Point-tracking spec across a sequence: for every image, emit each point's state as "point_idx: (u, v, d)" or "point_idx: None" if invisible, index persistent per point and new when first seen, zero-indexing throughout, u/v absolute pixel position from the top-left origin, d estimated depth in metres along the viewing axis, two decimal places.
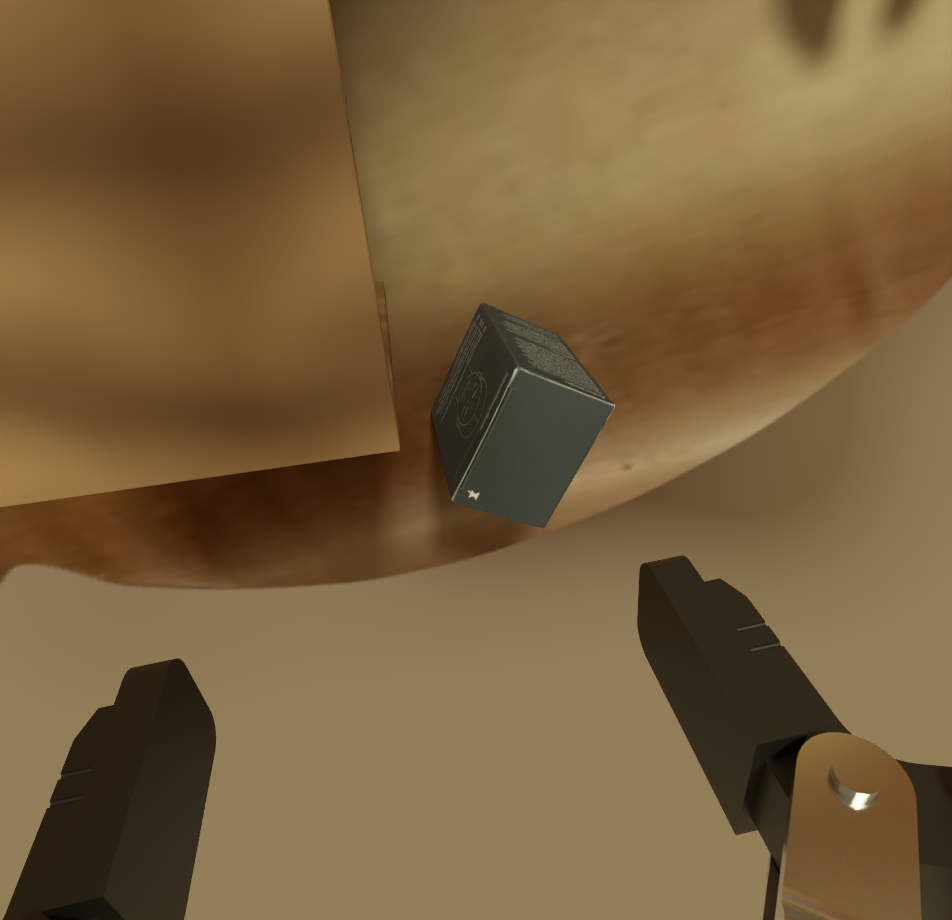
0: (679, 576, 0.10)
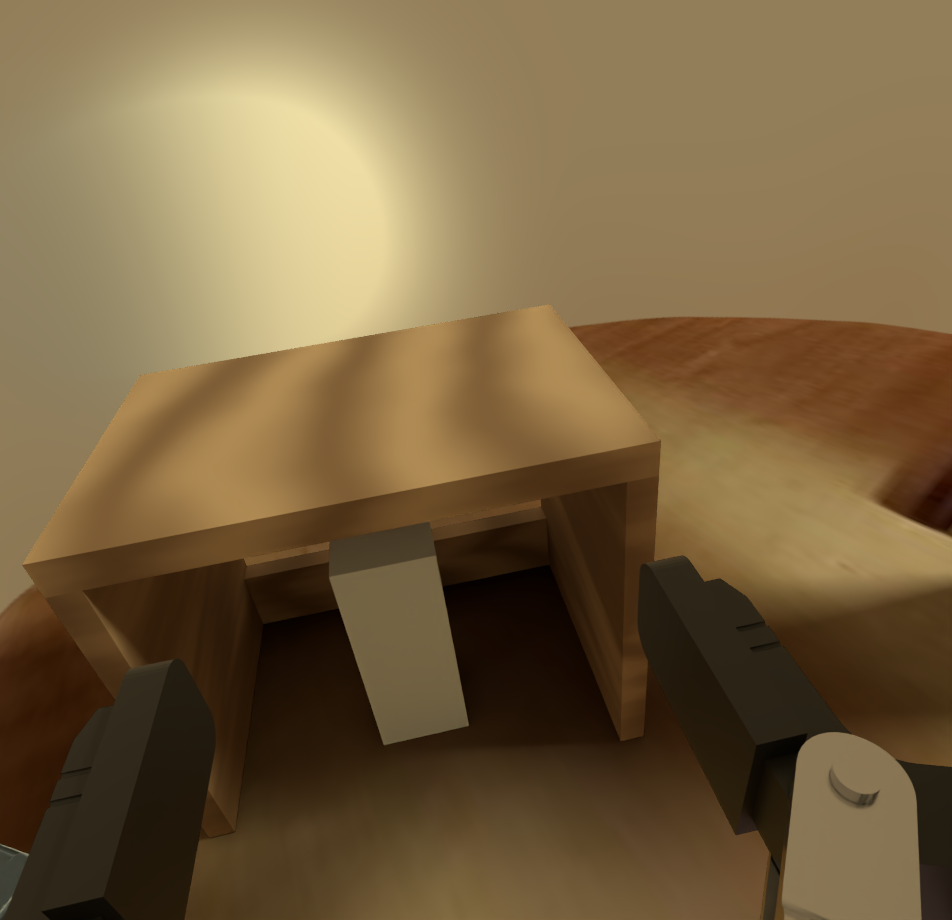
0: (679, 576, 0.10)
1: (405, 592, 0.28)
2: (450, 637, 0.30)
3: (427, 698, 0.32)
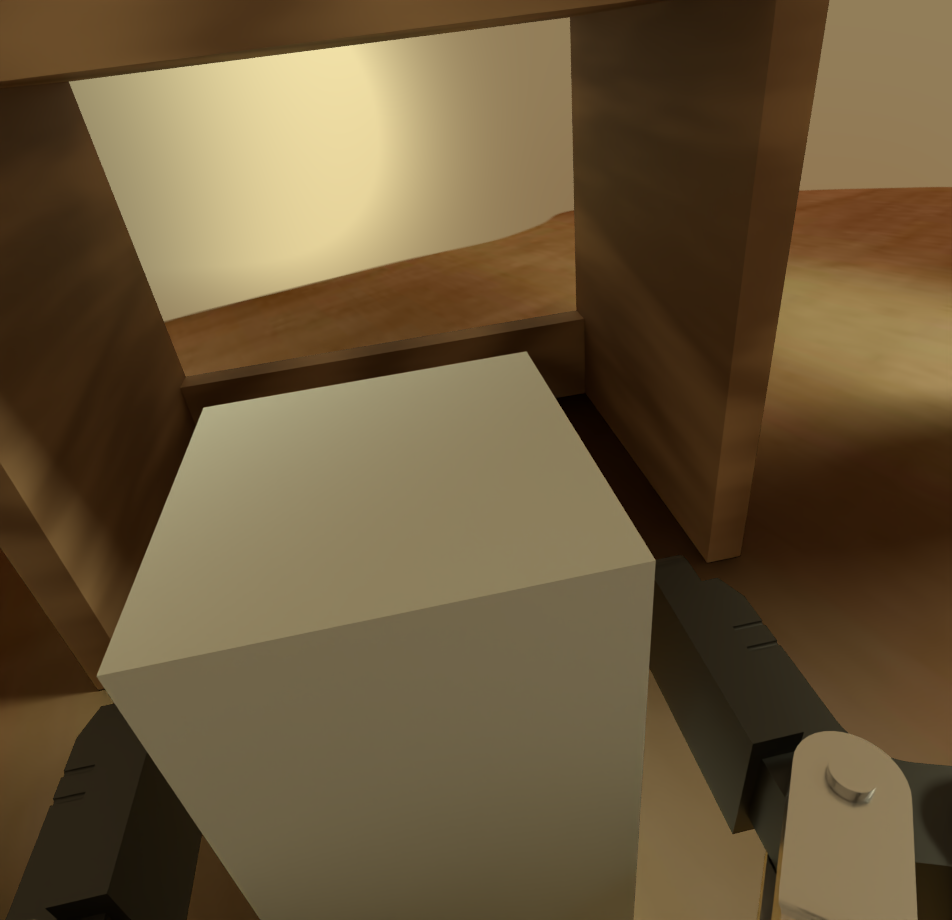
0: (677, 575, 0.10)
1: (489, 726, 0.06)
2: (632, 861, 0.08)
3: None
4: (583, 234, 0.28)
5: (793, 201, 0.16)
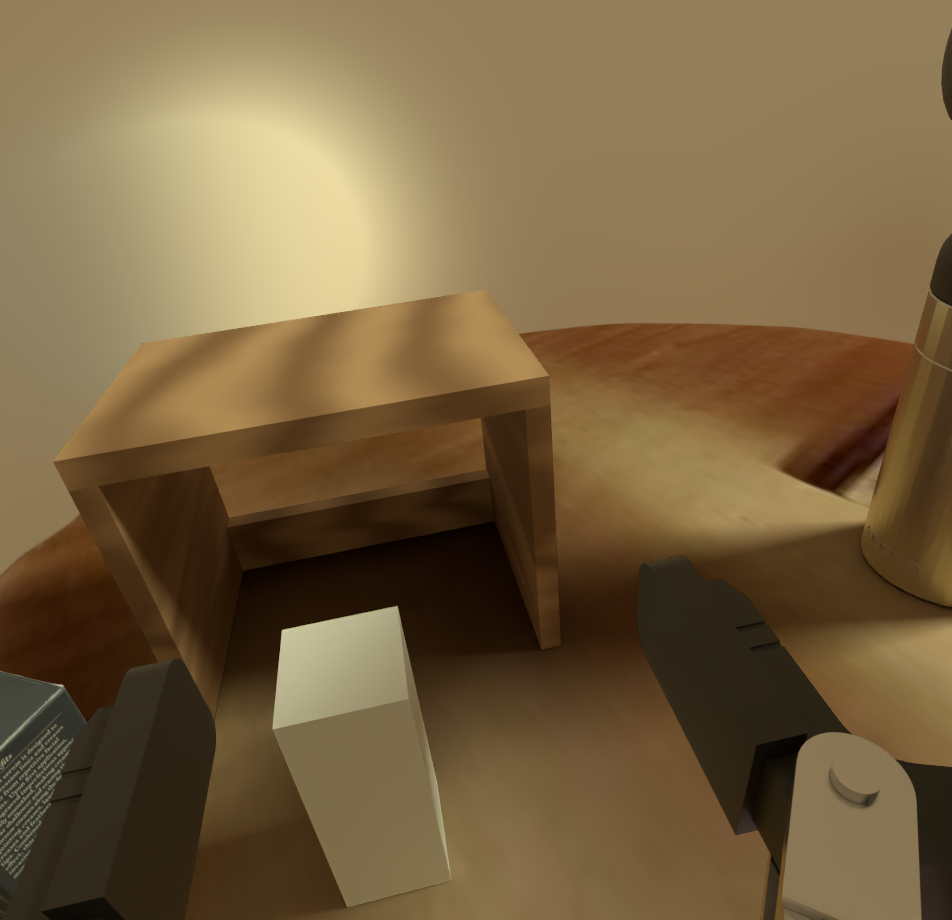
0: (679, 576, 0.10)
1: (370, 741, 0.22)
2: (428, 788, 0.24)
3: (399, 854, 0.26)
4: (485, 431, 0.45)
5: (553, 483, 0.32)
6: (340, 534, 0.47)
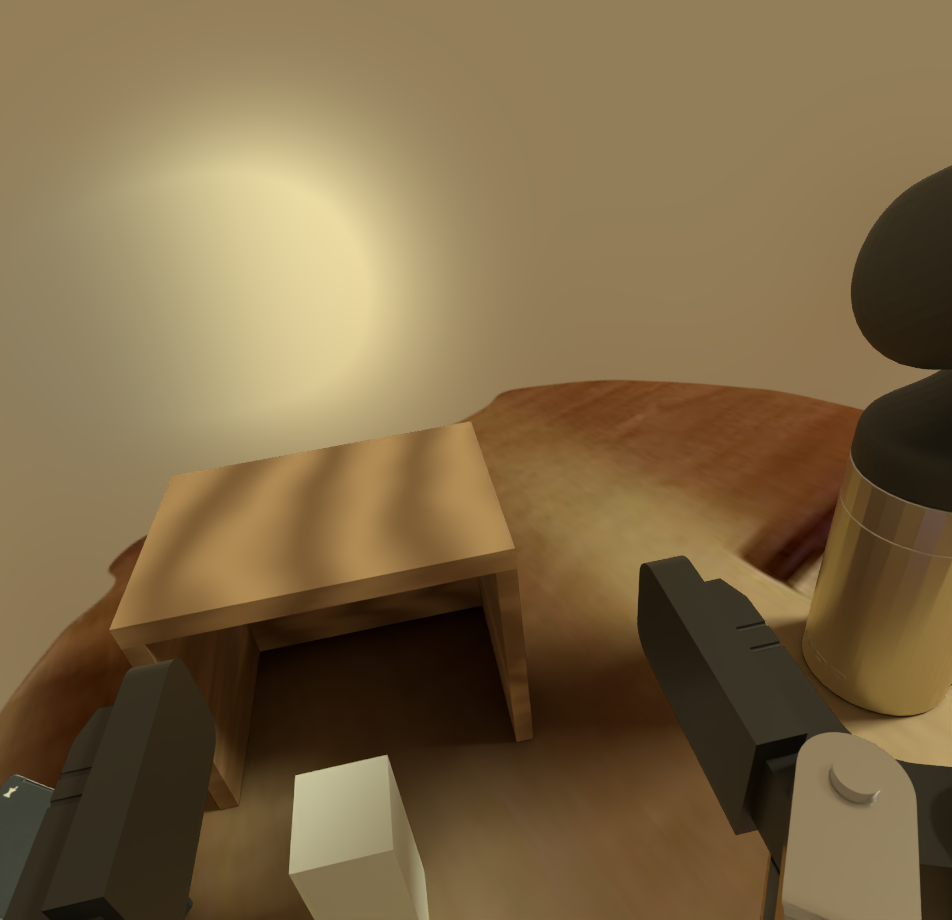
0: (679, 576, 0.10)
1: (364, 876, 0.28)
2: (411, 902, 0.30)
3: None
4: None
5: (521, 622, 0.38)
6: (345, 620, 0.53)
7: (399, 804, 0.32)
